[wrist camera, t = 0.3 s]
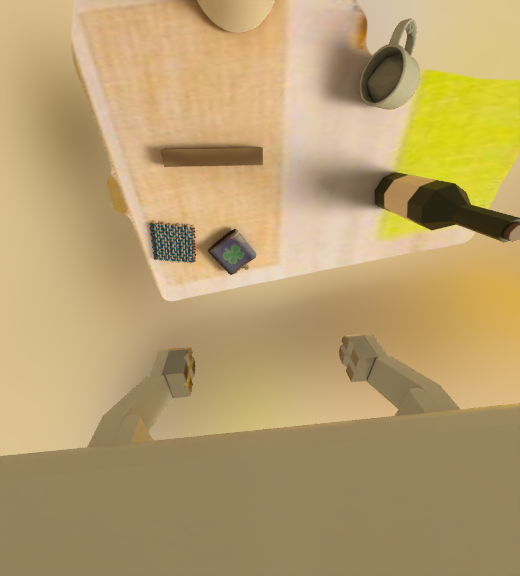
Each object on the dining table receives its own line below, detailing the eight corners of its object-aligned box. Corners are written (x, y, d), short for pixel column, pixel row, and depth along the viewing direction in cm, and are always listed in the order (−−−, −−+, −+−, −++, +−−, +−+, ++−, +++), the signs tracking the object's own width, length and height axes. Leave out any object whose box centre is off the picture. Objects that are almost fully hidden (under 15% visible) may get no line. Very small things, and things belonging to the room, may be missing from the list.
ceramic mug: (374, 100, 46) (401, 119, 44) (350, 93, 42) (379, 113, 39) (417, 26, 38) (455, 43, 35) (394, 7, 34) (435, 24, 31)
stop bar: (164, 148, 46) (160, 149, 44) (261, 147, 48) (262, 148, 45) (168, 165, 48) (164, 166, 45) (261, 163, 49) (262, 164, 47)
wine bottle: (413, 173, 53) (569, 202, 28) (399, 209, 58) (523, 261, 33) (380, 171, 53) (513, 198, 28) (369, 208, 57) (473, 260, 32)
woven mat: (196, 261, 61) (195, 265, 60) (155, 258, 60) (153, 261, 58) (196, 224, 56) (194, 226, 54) (150, 219, 54) (148, 221, 53)
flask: (236, 230, 54) (261, 261, 60) (235, 226, 56) (259, 256, 62) (207, 253, 56) (234, 281, 61) (207, 248, 58) (233, 275, 64)
